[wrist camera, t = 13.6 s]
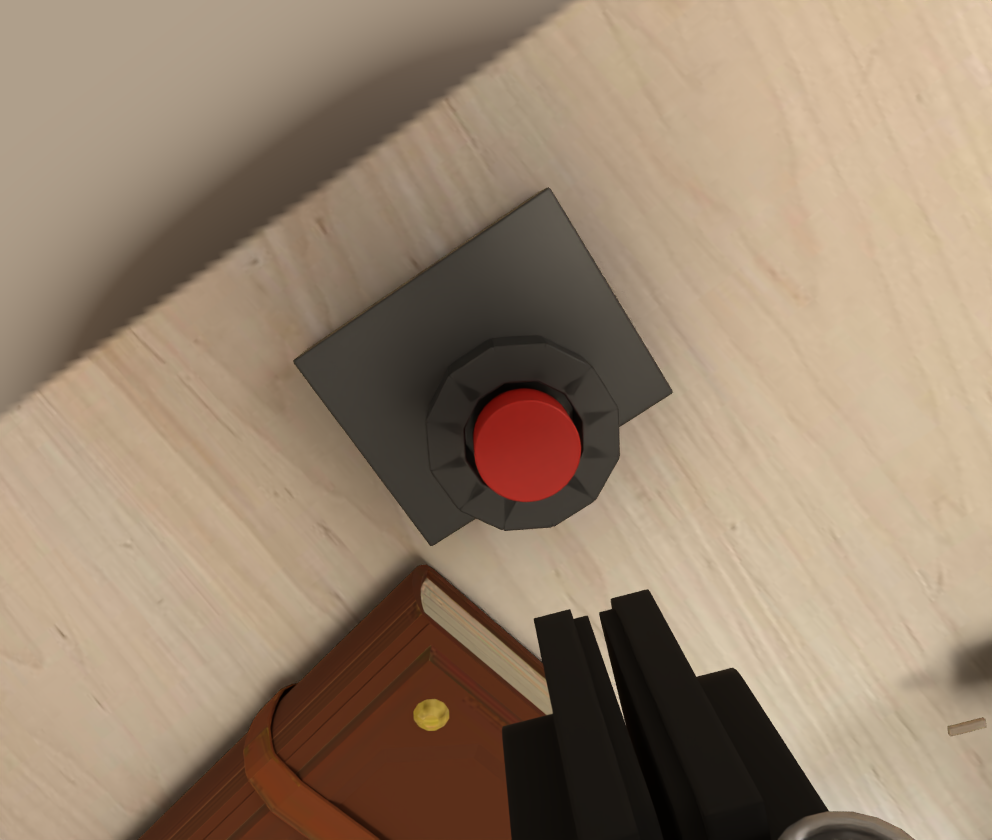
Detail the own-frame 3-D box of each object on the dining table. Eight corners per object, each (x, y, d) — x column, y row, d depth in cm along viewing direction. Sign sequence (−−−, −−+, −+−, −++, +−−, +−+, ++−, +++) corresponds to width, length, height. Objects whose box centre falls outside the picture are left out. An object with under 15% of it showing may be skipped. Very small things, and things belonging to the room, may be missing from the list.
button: (453, 423, 23) (453, 438, 21) (538, 368, 23) (544, 379, 21) (508, 501, 24) (512, 522, 22) (591, 448, 24) (601, 465, 22)
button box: (305, 351, 26) (278, 371, 22) (541, 190, 25) (557, 182, 21) (448, 545, 28) (447, 594, 24) (670, 403, 27) (707, 431, 23)
